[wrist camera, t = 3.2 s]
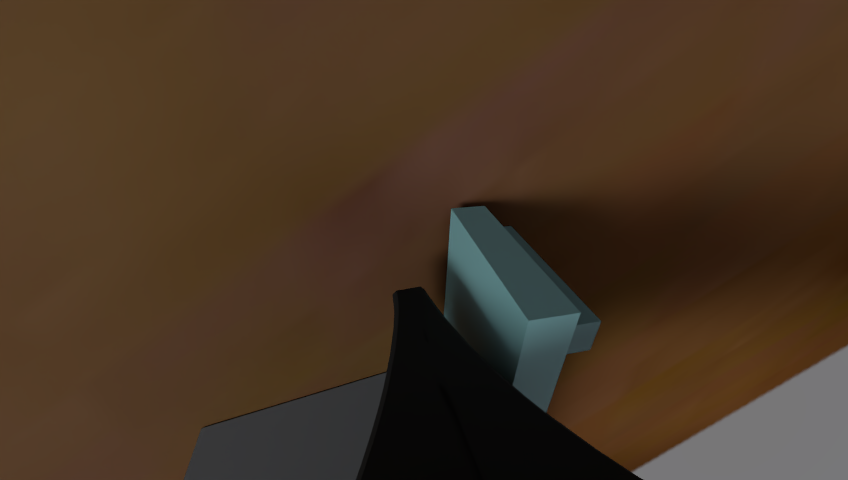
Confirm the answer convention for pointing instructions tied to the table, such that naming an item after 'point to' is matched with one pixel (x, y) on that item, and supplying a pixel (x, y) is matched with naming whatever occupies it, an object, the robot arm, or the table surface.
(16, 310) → the table surface
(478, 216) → the side door
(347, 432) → the camera case
